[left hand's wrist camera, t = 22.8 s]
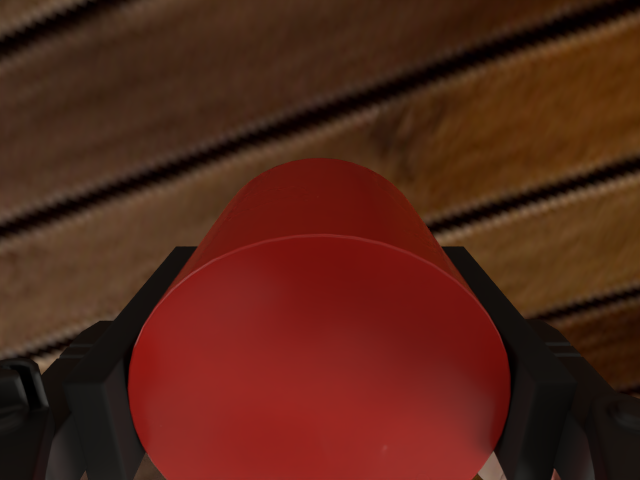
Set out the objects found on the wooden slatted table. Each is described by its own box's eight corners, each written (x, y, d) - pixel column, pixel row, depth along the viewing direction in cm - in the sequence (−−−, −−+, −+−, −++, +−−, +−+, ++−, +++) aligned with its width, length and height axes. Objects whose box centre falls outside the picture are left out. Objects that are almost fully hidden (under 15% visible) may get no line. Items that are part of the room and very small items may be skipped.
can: (466, 285, 16) (576, 444, 9) (298, 385, 17) (285, 582, 11) (346, 108, 13) (373, 142, 7) (167, 243, 15) (43, 378, 8)
